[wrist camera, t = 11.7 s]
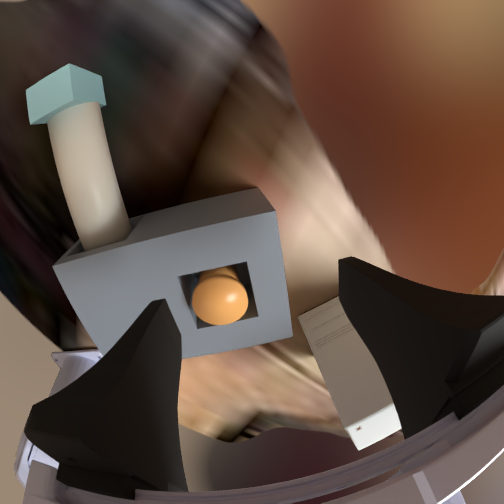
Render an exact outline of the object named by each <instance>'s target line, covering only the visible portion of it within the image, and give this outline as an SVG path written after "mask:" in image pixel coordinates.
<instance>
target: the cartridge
mask: <svg viewBox="0 0 504 504" xmlns="http://www.w3.org/2000/svg"><path fill="white" fill-rule="evenodd" d="M26 97H27V106H28V114H29V121H30V124H45V123H47V124H48V130H49V135H50V140H51V145H52V150H53V154H54V158H55V162H56V166H57V170H58V174H59V178H60V181H61V185H62V188H63V192H64V195H65V198H66V202H67V205H68V208H69V211H70V214H71V217H72V219H73V222H74V225H75V228H76V231H77V233H78V236H79V238H80V241H81V244H82V246H83V249H84V251H88V250H92V249H95V248H99V247H102V246H106V245H109V244H113V243H117V242H120V241H124V240H126V239H127V238H128V236H129V235H130V233H131V232H132V231H133V230H132V227H131V224H130V221H129V218H128V215H127V212H126V209H125V206H124V202H123V199H122V196H121V192H120V189H119V185H118V182H117V178H116V175H115V171H114V167H113V163H112V159H111V155H110V151H109V147H108V143H107V138H106V134H105V129H104V124H103V120H102V114H101V109H100V108H101V107H103V106H106V101H105V95H104V89H103V83H102V76H99V75H97V74H95V73H92V72H90V71H87V70H85V69H82V68H79V67H77V66H74V65H71V64H68V65H66V66H64V67H62V68H60V69H59V70H57V71H55V72H53V73H52V74H50V75H48V76H47V77H45V78H44V79H42V80H40V81H39V82H37V83H36V84H34V85H33V86H31V87H30V88H28V89H27V90H26Z"/></svg>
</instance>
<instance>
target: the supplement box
mask: <svg viewBox="0 0 504 504" xmlns="http://www.w3.org/2000/svg"><path fill="white" fill-rule="evenodd" d="M298 319H299V322H300V324H301V327H302V329H303V332H304V334H305V336H306V338H307V341H308V343H309V345H310V348H311V350H312V352H313V355H314V357H315V359H316V362H317V364H318V366H319V369H320V371H321V373H322V376H323V378H324V381H325V383H326V385H327V388H328V390H329V393H330V395H331V397H332V400H333V402H334V405H335V407H336V410H337V412H338V415H339V417H340V419H341V422H342V424H343V427H344V429H345V430H346V432H347V433H348V435H349V436H350V438H351V440H352V441H353V443H354V444H355V445H356V447H357V449H358V450H361V449H363V448H365V447H367V446H369V445H371V444H373V443H375V442H377V441H379V440H381V439H383V438H385V437H387V436H388V435H390V434H392V433H394V432H396V431H397V430H399V429H401V428H402V427H401V424H400V421H399V417H398V414H397V411H396V409H395V406H394V403H393V400H392V397H391V395H390V393H389V390H388V388H387V385H386V383H385V380H384V378H383V376H382V374H381V372H380V370H379V367H378V365H377V363H376V361H375V360H374V358H373V356H372V354H371V353H370V351H369V350H368V348H367V347H366V345H365V344H364V342H363V341H362V339H361V338H360V336H359V335H358V333H357V331H356V330H355V328H354V327H353V325H352V324H351V322H350V321H349V319H348V318H347V316H346V314H345V312H344V310H343V307H342V305H341V303H340V301H339V296H338V297H336V298H334V299H332V300H330V301H328V302H326V303H324V304H322V305H320V306H318V307H316V308H314V309H312V310H310V311H308V312H306V313H304V314H302V315H300V316H298Z"/></svg>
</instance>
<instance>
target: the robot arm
mask: <svg viewBox="0 0 504 504" xmlns="http://www.w3.org/2000/svg"><path fill="white" fill-rule="evenodd" d="M338 264H339V301H340V303H341V305H342V307H343V310H344V312H345V314H346V316H347V318H348V319H349V321H350V322H351V324H352V325H353V327H354V328H355V330H356V331H357V333H358V335H359V336H360V338H361V339H362V341H363V342H364V344H365V345H366V347H367V348H368V350H369V351H370V353H371V354H372V356H373V358H374V360H375V361H376V363H377V365H378V367H379V370H380V372H381V374H382V376H383V378H384V380H385V383H386V385H387V388H388V390H389V393H390V395H391V397H392V400H393V403H394V406H395V409H396V411H397V414H398V417H399V421H400V424H401V427H402V431H403V434H404V438H405V440H403V441H401V442H400V443H397V444H395V445H393V446H391V447H389V448H387V449H384V450H382V451H380V452H378V453H375V454H373V455H370V456H368V457H366V458H363V459H360V460H358V461H355V462H352V463H350V464H347V465H344V466H341V467H338V468H335V469H332V470H329V471H325V472H322V473H319V474H315V475H311V476H307V477H304V478H299V479H295V480H291V481H287V482H281V483H276V484H271V485H266V486H259V487H252V488H244V489H235V490H226V491H209V492H189V491H188V487H187V484H186V478H185V473H184V468H183V462H182V456H181V449H180V440H179V429H178V410H177V407H178V391H179V381H180V371H181V361H182V337H181V333H180V331H179V329H178V326H177V324H176V322H175V320H174V317H173V315H172V313H171V310H170V308H169V306H168V303H167V301H166V299H165V298H164V299H159V300H154V301H151V302H150V303H149V304H148V306H147V307H146V308H145V309H144V310H143V311H142V313H141V314H140V315H139V316H138V318H137V319H136V320H135V321H134V322H133V324H132V325H131V326H130V327H129V329H128V330H127V331H126V332H125V333H124V334H123V336H122V337H121V338H120V339H119V340H118V341H117V342H116V343H115V345H114V346H113V347H112V348H111V349H110V350H109V351H108V352H107V353H106V354H105V355H104V356H103V355H102V353H101V352H100V350H98V349H91V350H79V351H65V352H52V354H51V357H52V358H53V360H54V361H55V362H56V364H57V365H58V366H59V367H60V371H59V374H58V376H57V378H56V380H55V383H54V385H53V388H52V390H51V393H50V395H49V397H48V398H46V399H44V400H42V401H40V402H38V403H37V404H34V405H33V406H32V409H31V411H30V414H29V417H28V419H27V422H26V424H25V427H24V430H23V433H22V436H21V439H20V442H19V445H18V449H17V452H16V461H15V464H14V471H15V476H16V478H17V479H18V481H19V482H20V483H21V485H22V486H23V488H24V489H25V493H24V499H23V504H289V503H294V502H298V501H303V500H307V499H311V498H315V497H318V496H322V495H325V494H329V493H332V492H335V491H338V490H341V489H344V488H347V487H350V486H353V485H355V484H358V483H361V482H363V481H366V480H369V479H371V478H373V477H375V476H378V475H380V474H383V473H385V472H387V471H389V470H391V469H393V468H396V467H398V466H400V465H402V464H404V463H406V462H407V463H406V464H404V465H402V466H401V468H400V471H398V472H397V473H396V474H395V475H394V476H392V477H391V478H390V479H388V480H387V481H385V482H383V483H381V484H378V485H376V486H373V487H370V488H368V489H365V490H362V491H360V492H357V493H354V494H351V495H348V496H345V497H342V498H339V499H336V500H332V501H329V502H326V503H322V504H466V503H465V500H464V498H463V496H462V494H461V492H460V489H462V488H463V487H464V486H465V485H467V484H468V483H469V482H470V481H471V480H473V479H474V478H475V477H476V476H478V475H479V474H480V473H481V472H482V471H483V470H484V469H485V468H486V467H487V466H489V465H490V464H491V463H492V462H493V461H494V460H495V459H496V458H497V457H498V456H499V455H500V454H501V453H502V452H503V451H504V296H488V295H472V294H463V293H456V292H451V291H446V290H441V289H437V288H433V287H429V286H426V285H423V284H419V283H416V282H413V281H411V280H408V279H405V278H403V277H400V276H397V275H395V274H393V273H390V272H388V271H385V270H383V269H381V268H379V267H376V266H374V265H372V264H370V263H367V262H365V261H363V260H360V259H358V258H355V257H352V256H351V257H347V258H343V259H339V260H338ZM413 458H414V459H413ZM411 459H412V460H411ZM409 460H410V461H409ZM408 461H409V462H408Z"/></svg>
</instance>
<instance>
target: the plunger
mask: <svg viewBox="0 0 504 504" xmlns="http://www.w3.org/2000/svg"><path fill="white" fill-rule="evenodd" d="M192 306H193V310H194V312H195V313H196V315H197V316H198V317H199V318H200V319H202V320H203V321H205V322H207V323H209V324H213V325H226V324H230V323H233V322H235V321H237V320H238V319H240V318H241V317H242V316H243V315H244V313H245V312H246V310H247V307H248V297H247V293H246V289H245V287H244V286H243V284H242V283H241V282H240V281H239V277H238V271H237V265H236V264H232V265H228V266H223V267H219V268H214V269H210V270H205V271H200V273H199V283H198V284H197V285H196V287H195V289H194V291H193V298H192Z"/></svg>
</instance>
